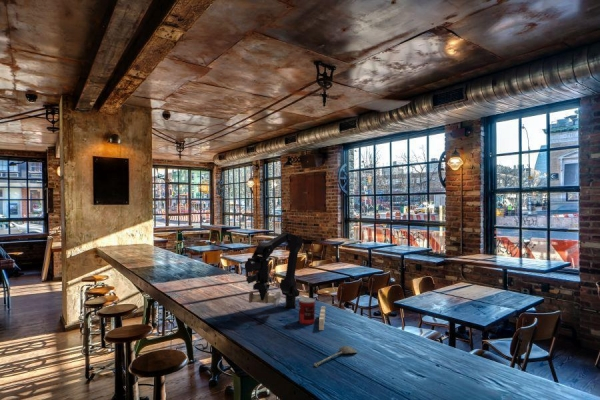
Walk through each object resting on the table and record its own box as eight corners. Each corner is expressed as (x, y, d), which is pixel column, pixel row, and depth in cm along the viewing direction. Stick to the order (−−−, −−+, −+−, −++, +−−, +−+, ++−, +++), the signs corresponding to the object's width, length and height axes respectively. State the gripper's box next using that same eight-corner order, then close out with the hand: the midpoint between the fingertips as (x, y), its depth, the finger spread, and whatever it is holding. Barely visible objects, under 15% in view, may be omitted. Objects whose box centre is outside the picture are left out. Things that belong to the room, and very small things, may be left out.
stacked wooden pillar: (246, 304, 176) (247, 295, 176) (252, 298, 188) (252, 289, 188) (276, 306, 175) (276, 297, 175) (280, 299, 187) (280, 290, 187)
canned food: (303, 318, 178) (304, 296, 178) (317, 321, 174) (317, 299, 174) (295, 322, 172) (295, 300, 172) (309, 325, 167) (310, 302, 168)
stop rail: (321, 316, 182) (321, 306, 182) (325, 316, 182) (325, 306, 182) (319, 329, 162) (319, 319, 162) (323, 330, 162) (323, 319, 162)
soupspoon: (360, 355, 139) (347, 350, 143) (360, 346, 139) (347, 342, 144) (321, 370, 124) (308, 364, 129) (321, 360, 124) (308, 355, 129)
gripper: (252, 265, 192) (252, 294, 192) (243, 272, 173) (242, 304, 173) (272, 266, 191) (272, 295, 191) (265, 273, 172) (264, 305, 172)
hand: (262, 299), depth 182 cm, fingers closed on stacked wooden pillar, 2 cm apart
